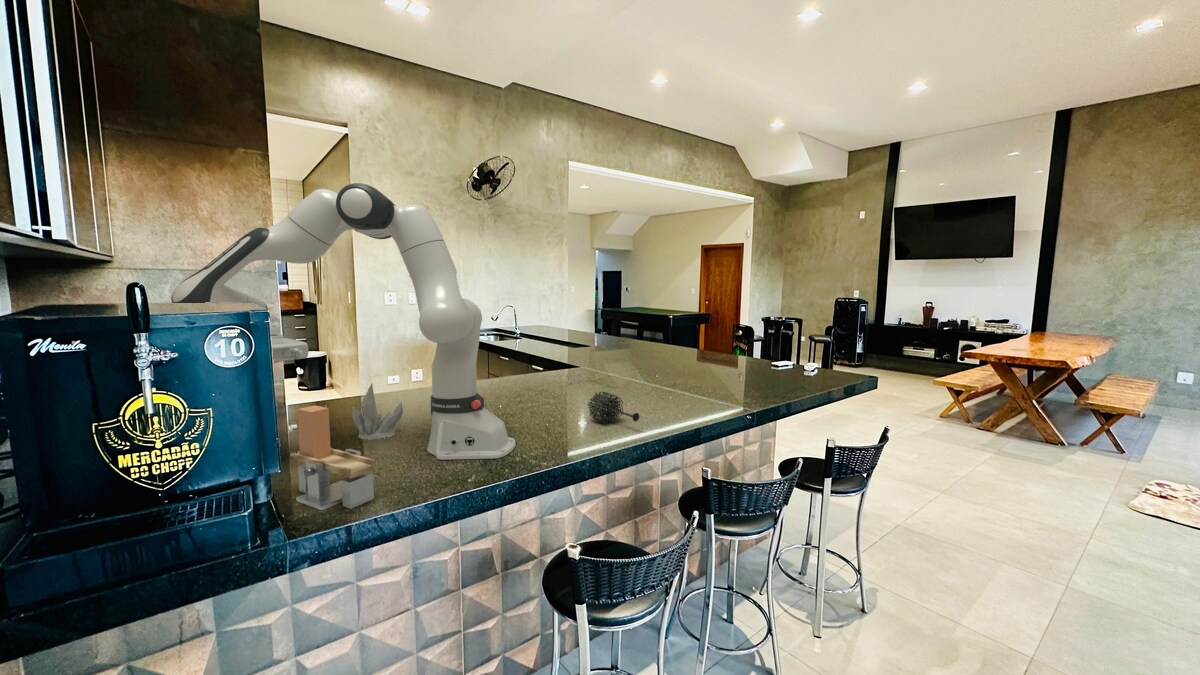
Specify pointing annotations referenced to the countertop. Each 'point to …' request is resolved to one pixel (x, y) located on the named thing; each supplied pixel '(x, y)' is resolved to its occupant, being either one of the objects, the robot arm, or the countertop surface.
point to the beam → (341, 463)
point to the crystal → (374, 419)
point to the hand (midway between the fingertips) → (276, 357)
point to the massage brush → (611, 409)
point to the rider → (314, 432)
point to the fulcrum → (333, 487)
